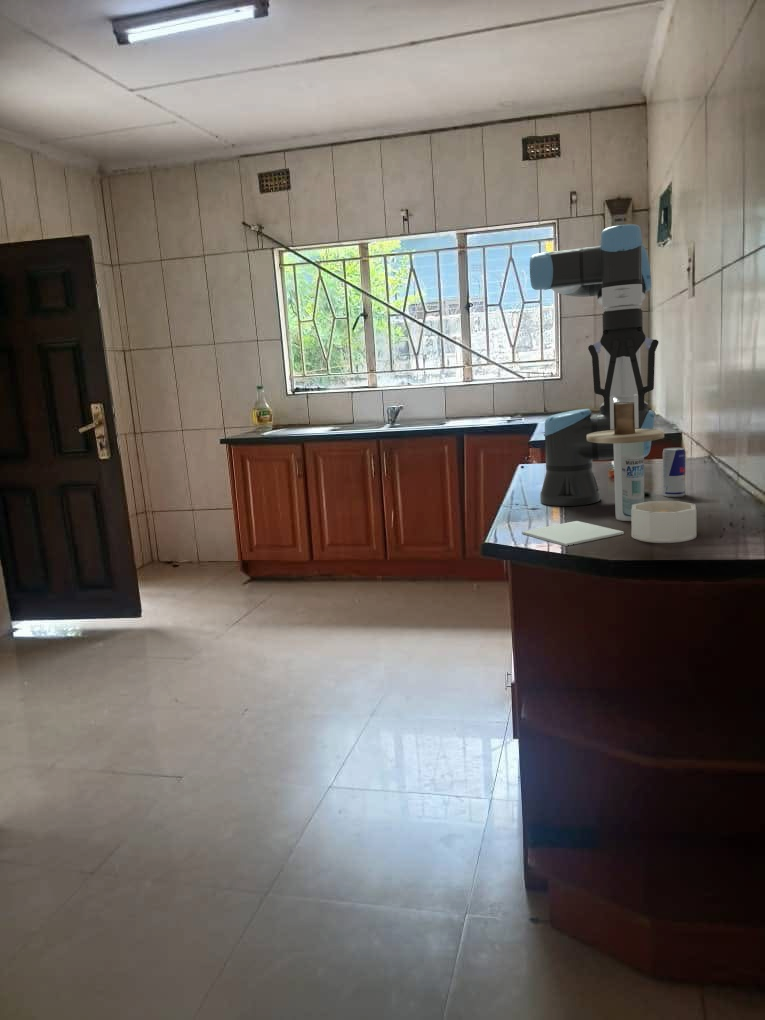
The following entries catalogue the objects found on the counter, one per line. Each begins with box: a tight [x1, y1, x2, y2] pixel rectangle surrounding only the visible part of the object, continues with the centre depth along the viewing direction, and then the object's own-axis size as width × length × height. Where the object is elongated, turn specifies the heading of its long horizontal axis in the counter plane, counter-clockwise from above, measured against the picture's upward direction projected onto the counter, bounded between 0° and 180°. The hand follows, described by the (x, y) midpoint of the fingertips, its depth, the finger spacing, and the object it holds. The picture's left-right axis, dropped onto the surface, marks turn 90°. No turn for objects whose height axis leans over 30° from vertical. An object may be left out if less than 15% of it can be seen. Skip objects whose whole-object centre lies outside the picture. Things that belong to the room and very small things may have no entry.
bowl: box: [630, 500, 698, 544], centre depth 152 cm, size 12×12×6 cm
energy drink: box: [662, 447, 687, 498], centre depth 190 cm, size 5×5×12 cm
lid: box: [587, 403, 665, 443], centre depth 151 cm, size 15×15×7 cm
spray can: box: [613, 442, 645, 522], centre depth 168 cm, size 6×6×20 cm
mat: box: [521, 520, 625, 547], centre depth 160 cm, size 15×15×1 cm
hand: (624, 427), depth 151 cm, fingers closed on lid, 4 cm apart
